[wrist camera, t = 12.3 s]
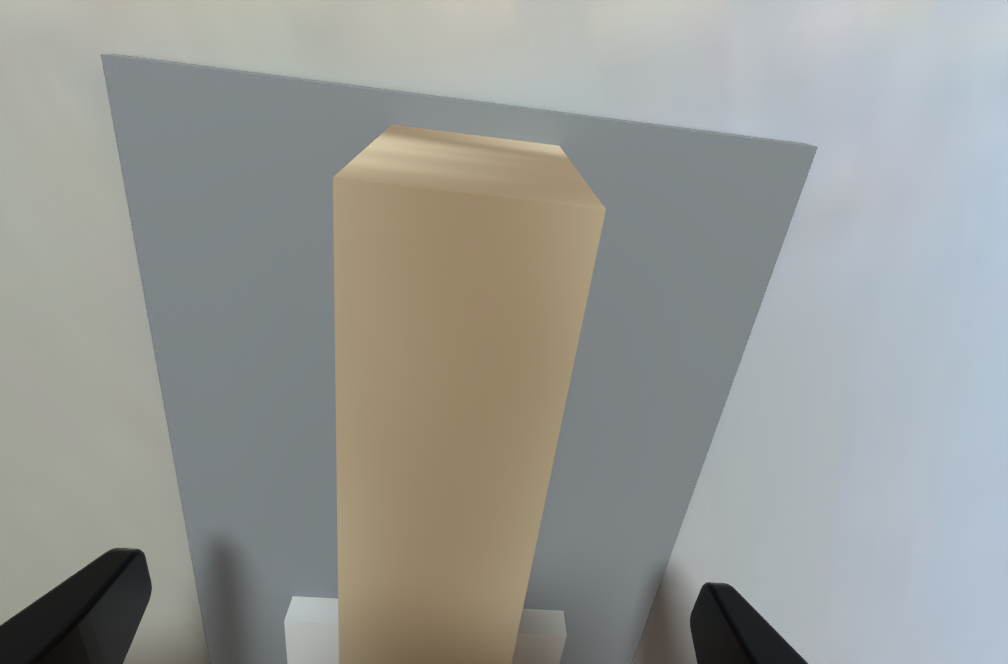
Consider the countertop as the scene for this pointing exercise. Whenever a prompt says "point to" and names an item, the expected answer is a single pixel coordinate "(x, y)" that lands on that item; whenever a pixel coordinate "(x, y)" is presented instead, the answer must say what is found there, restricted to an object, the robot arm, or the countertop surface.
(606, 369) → the mat
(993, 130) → the countertop surface
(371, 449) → the turner
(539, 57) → the countertop surface
